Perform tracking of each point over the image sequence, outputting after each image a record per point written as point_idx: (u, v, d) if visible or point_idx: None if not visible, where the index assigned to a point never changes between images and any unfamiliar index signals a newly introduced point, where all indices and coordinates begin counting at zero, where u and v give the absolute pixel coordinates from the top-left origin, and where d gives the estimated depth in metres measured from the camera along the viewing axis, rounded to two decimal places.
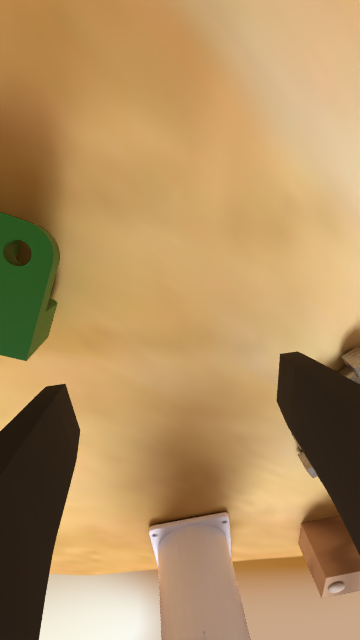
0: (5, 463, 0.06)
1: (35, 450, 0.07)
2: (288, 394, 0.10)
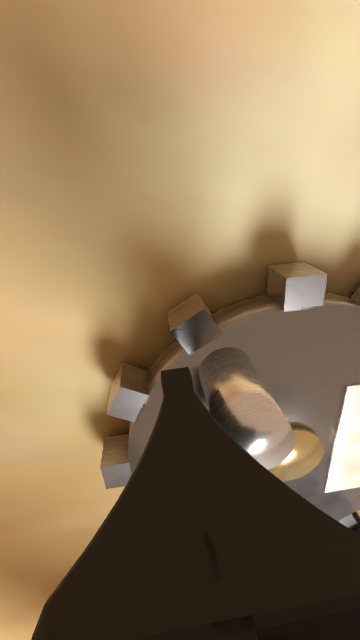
0: (195, 434, 0.06)
1: None
2: None
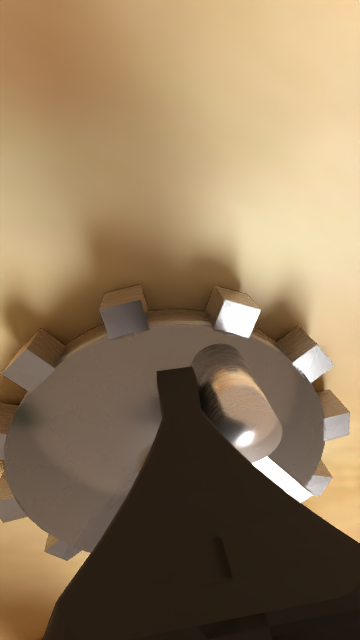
0: (201, 433, 0.06)
1: None
2: (161, 413, 0.09)
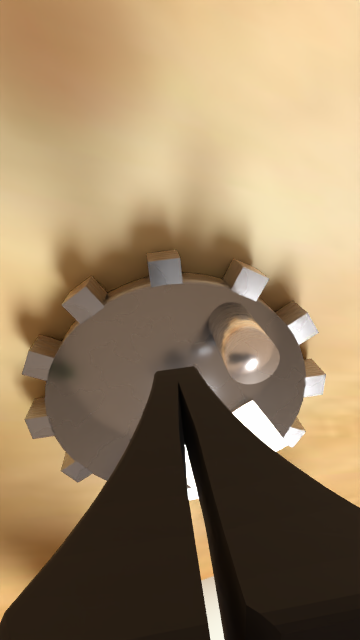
0: (176, 437, 0.06)
1: (180, 428, 0.07)
2: None
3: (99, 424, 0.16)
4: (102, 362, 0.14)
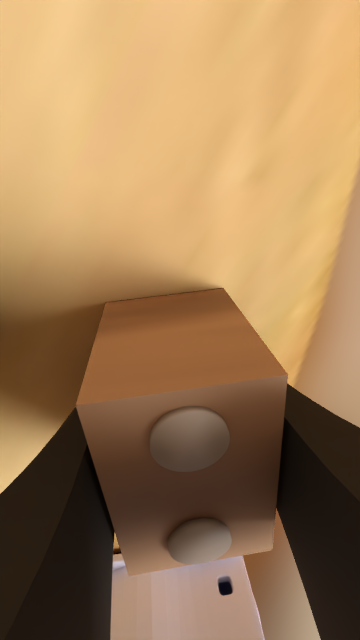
0: (81, 451, 0.06)
1: None
2: None
3: None
4: None
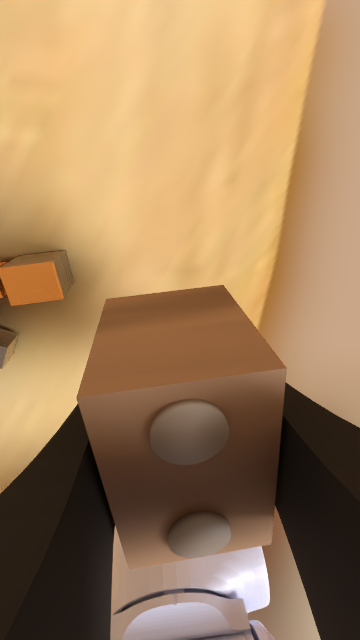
0: (81, 451, 0.06)
1: None
2: None
3: None
4: None
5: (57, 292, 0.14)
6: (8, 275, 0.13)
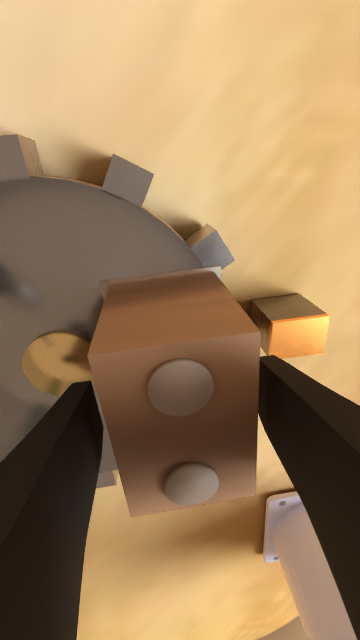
0: (45, 457, 0.06)
1: (69, 445, 0.07)
2: (264, 398, 0.10)
3: None
4: None
5: (321, 346, 0.13)
6: (281, 329, 0.12)
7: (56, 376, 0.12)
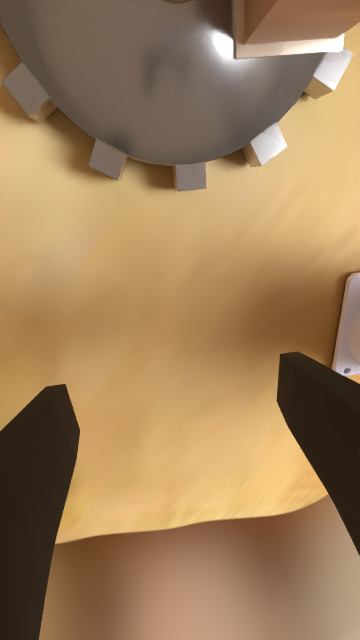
0: (5, 463, 0.06)
1: (35, 450, 0.07)
2: (288, 394, 0.10)
3: (140, 90, 0.12)
4: (52, 5, 0.11)
5: None
6: None
7: None
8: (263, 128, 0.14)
